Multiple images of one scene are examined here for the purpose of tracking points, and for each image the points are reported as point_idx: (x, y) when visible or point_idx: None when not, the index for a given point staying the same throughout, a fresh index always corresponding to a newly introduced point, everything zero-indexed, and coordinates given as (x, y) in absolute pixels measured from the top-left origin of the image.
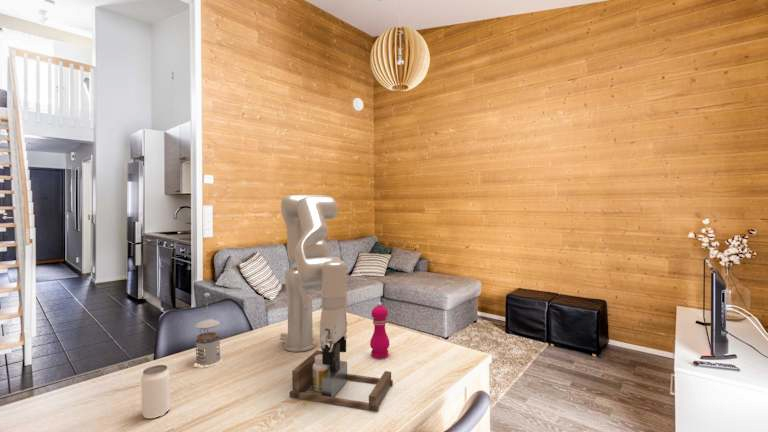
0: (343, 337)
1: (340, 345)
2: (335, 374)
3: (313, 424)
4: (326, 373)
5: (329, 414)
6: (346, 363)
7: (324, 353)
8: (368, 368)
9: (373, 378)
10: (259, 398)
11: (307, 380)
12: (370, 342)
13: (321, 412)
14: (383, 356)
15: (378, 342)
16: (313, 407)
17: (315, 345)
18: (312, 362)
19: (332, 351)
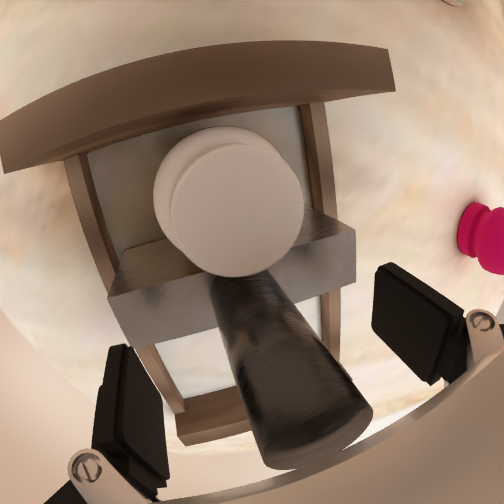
0: (448, 384)
1: (404, 327)
2: (188, 334)
3: (18, 325)
4: (165, 286)
5: (77, 335)
6: (343, 282)
7: (96, 449)
8: (409, 248)
9: (333, 336)
10: (21, 31)
11: (148, 128)
12: (501, 219)
13: (65, 307)
14: (463, 251)
15: (497, 258)
16: (64, 262)
17: (453, 3)
18: (232, 100)
19: (161, 485)
